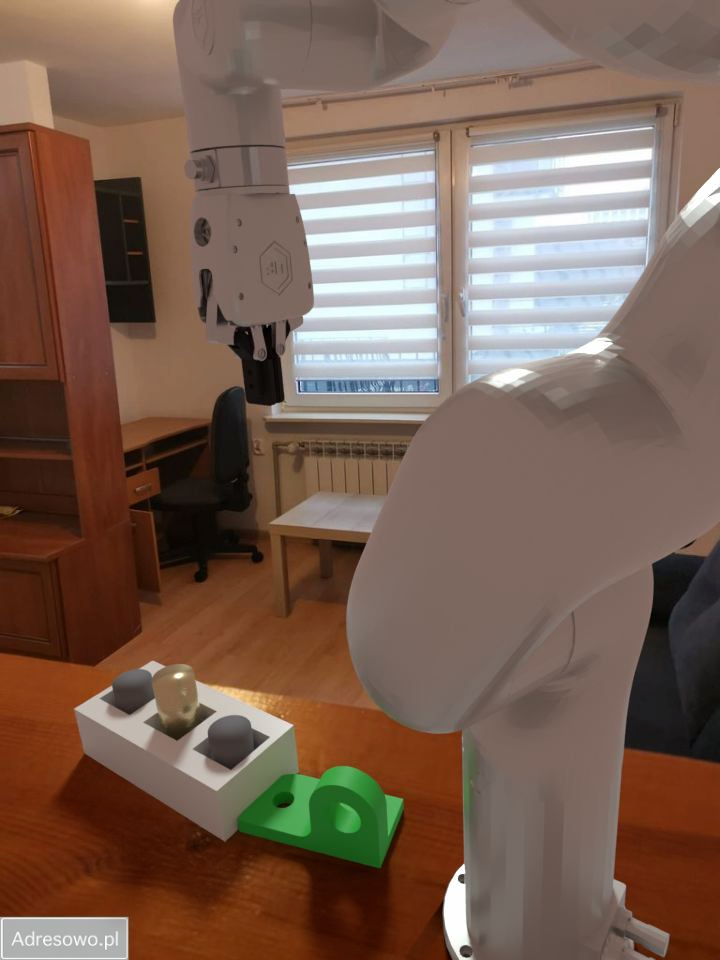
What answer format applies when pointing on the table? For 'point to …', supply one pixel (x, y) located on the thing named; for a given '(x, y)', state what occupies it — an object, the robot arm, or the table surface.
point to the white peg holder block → (188, 755)
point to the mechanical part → (327, 815)
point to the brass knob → (176, 700)
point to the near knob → (230, 740)
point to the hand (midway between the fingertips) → (265, 402)
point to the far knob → (133, 690)
